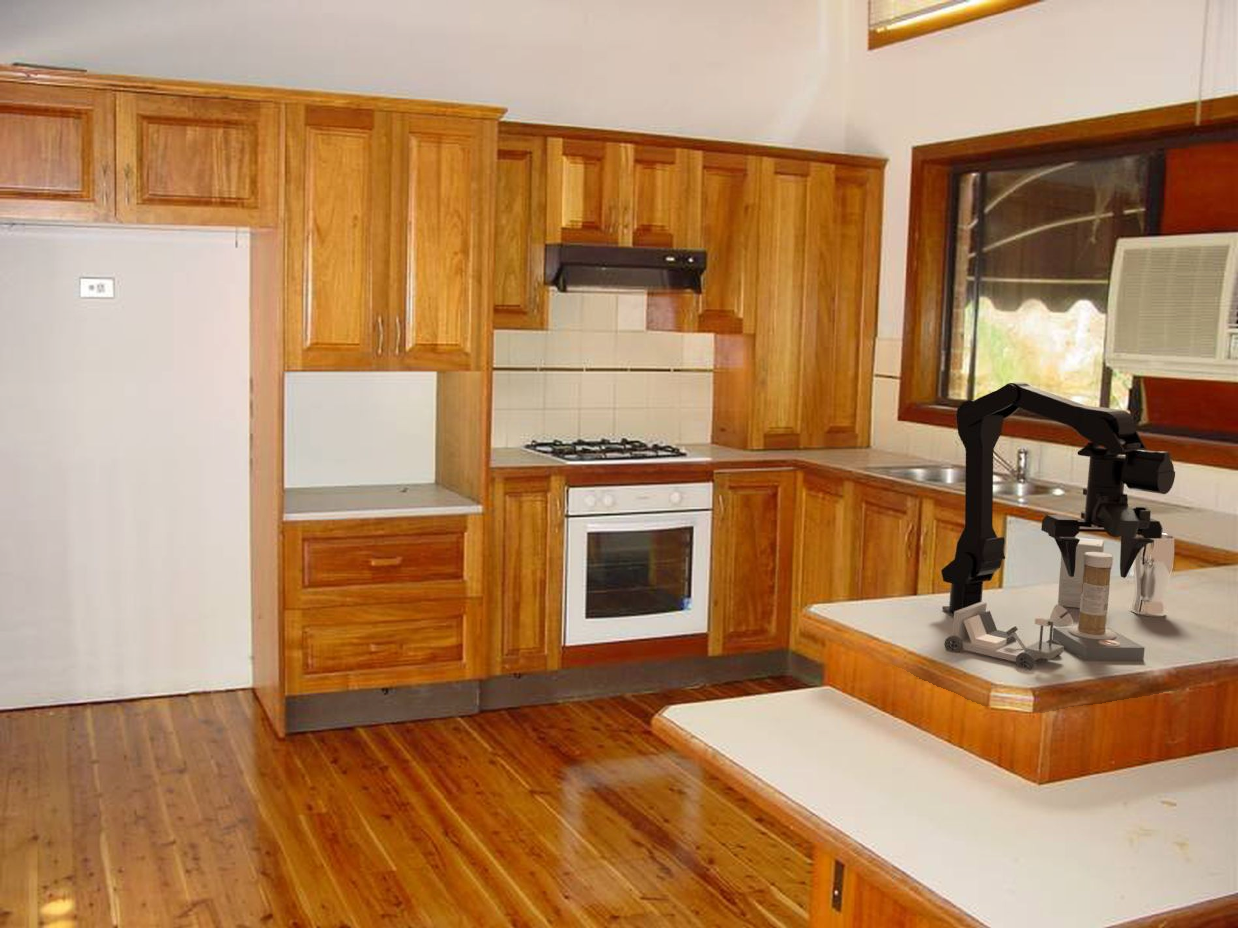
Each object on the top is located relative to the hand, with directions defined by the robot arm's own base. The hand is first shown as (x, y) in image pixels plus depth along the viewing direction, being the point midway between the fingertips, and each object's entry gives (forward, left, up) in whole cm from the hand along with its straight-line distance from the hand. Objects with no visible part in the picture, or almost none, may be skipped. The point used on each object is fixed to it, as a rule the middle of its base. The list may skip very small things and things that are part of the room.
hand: (1097, 576), depth 211 cm
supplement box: (-29, +12, -12) cm, 34 cm away
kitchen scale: (+2, 0, -12) cm, 12 cm away
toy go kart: (+5, -16, -13) cm, 21 cm away
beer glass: (-23, +23, -12) cm, 35 cm away
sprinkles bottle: (0, 0, -10) cm, 10 cm away
